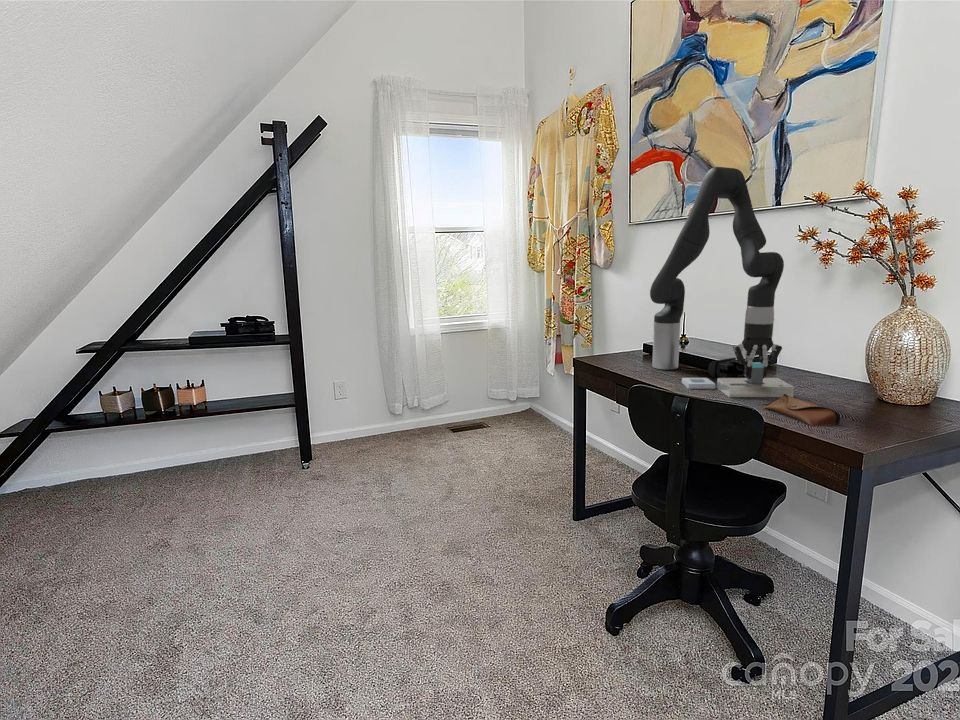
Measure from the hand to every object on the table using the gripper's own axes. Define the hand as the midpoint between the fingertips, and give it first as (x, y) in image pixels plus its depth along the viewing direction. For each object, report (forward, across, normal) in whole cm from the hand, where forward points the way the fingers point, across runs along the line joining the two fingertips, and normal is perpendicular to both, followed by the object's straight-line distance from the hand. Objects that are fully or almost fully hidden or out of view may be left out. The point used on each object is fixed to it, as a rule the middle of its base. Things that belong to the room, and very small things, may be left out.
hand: (754, 377), depth 163 cm
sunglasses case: (+6, -4, +20) cm, 21 cm away
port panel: (+5, 0, 0) cm, 5 cm away
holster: (+5, +14, -8) cm, 17 cm away
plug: (+2, 0, 0) cm, 2 cm away
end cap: (+6, +1, -21) cm, 22 cm away
